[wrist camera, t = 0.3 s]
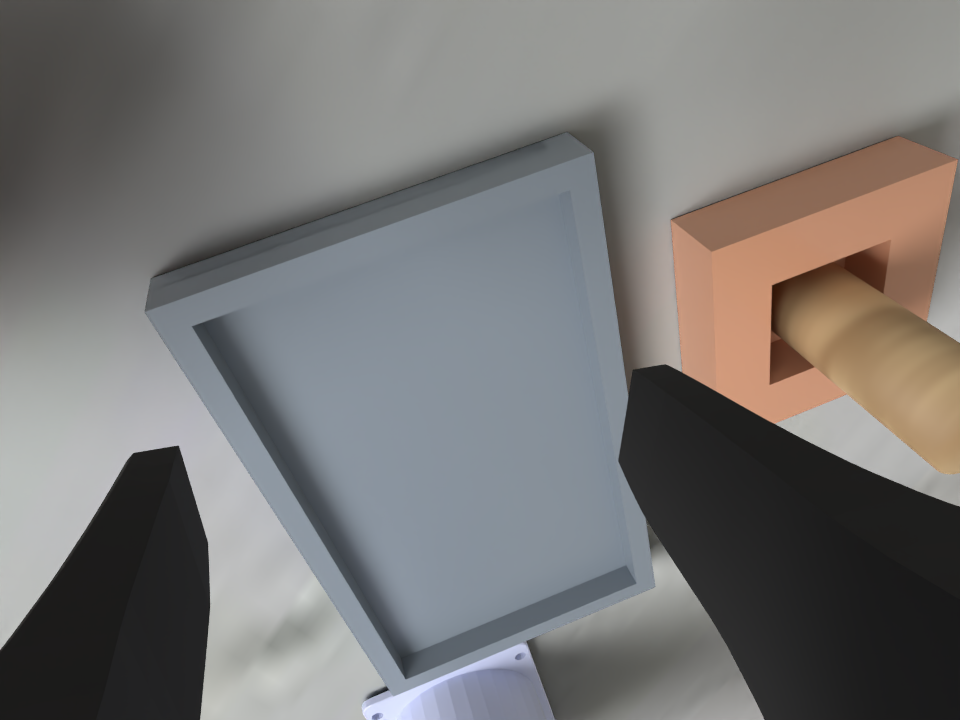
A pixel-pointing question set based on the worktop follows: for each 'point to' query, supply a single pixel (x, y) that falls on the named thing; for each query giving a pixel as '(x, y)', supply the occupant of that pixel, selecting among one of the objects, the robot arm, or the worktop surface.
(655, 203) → the worktop surface
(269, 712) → the worktop surface
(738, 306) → the orange square hole block
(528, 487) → the tray
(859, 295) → the dowel pin
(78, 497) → the worktop surface
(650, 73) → the worktop surface
